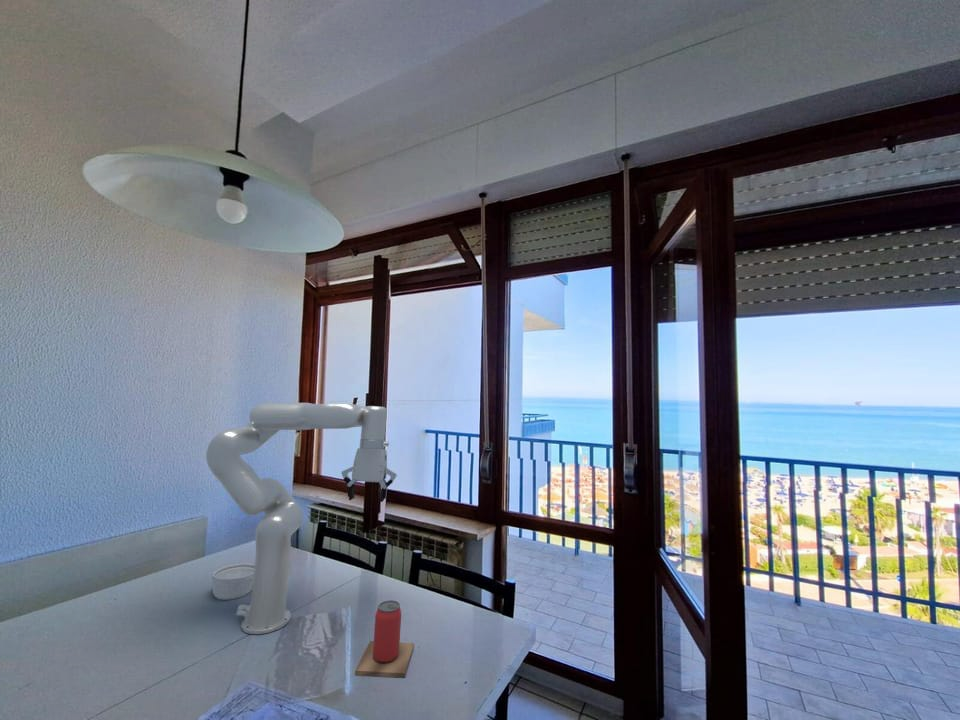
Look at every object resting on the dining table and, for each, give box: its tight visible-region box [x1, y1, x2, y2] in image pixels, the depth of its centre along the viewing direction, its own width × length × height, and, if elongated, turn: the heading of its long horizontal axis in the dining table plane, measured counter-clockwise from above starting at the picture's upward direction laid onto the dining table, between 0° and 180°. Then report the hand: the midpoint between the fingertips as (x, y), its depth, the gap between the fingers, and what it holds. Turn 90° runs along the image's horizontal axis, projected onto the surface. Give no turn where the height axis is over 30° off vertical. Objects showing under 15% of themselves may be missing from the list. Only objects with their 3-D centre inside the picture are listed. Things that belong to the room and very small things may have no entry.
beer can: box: [373, 599, 402, 663], centre depth 98 cm, size 7×7×12 cm
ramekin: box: [212, 562, 255, 601], centre depth 129 cm, size 13×13×7 cm
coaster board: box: [354, 640, 415, 679], centre depth 97 cm, size 12×12×1 cm
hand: (366, 500), depth 120 cm, fingers open, 9 cm apart
